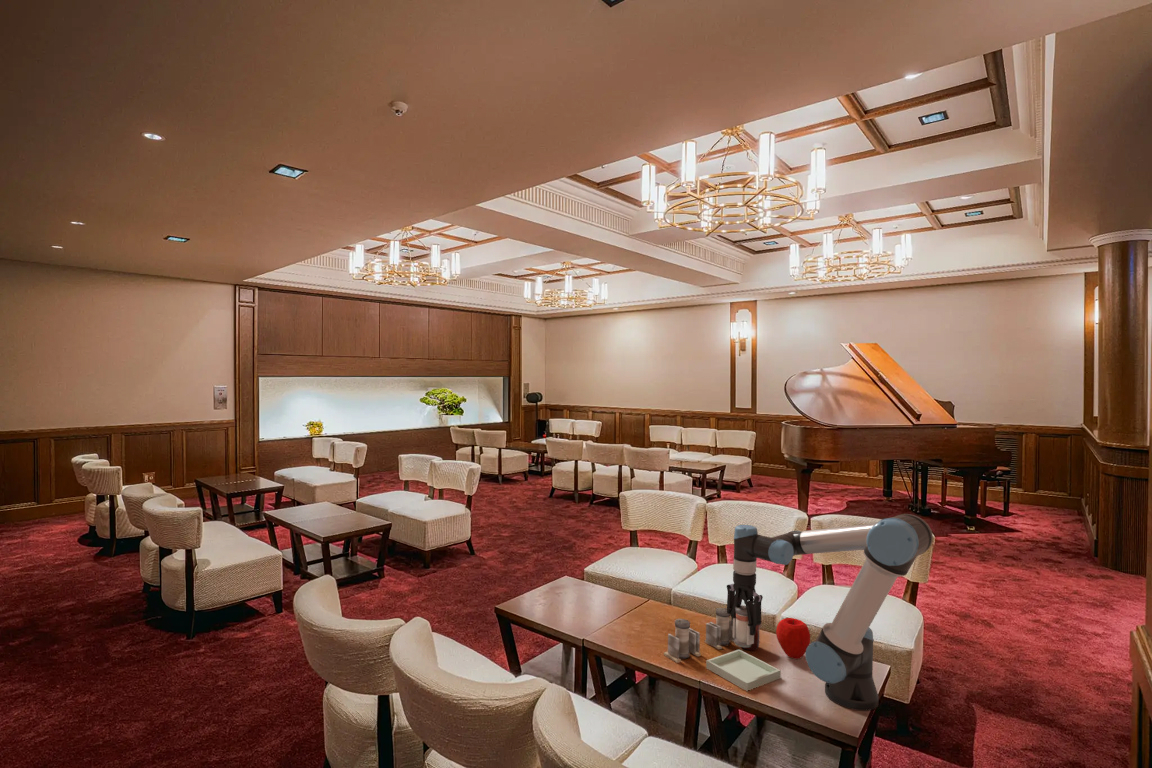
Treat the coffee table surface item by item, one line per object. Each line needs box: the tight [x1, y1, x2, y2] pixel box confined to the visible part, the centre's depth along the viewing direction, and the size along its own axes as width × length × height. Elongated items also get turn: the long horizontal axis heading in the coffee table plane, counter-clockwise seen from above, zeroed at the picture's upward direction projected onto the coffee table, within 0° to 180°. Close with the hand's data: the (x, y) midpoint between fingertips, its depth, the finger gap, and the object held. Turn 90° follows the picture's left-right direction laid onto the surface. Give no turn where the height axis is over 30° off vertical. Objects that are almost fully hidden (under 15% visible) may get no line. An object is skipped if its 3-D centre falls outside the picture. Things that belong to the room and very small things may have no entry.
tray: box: [705, 649, 782, 692], centre depth 191 cm, size 18×17×3 cm
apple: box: [775, 617, 811, 660], centre depth 204 cm, size 12×12×13 cm
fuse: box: [734, 604, 751, 648], centre depth 191 cm, size 5×5×12 cm
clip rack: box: [663, 607, 735, 664], centre depth 209 cm, size 7×32×12 cm, turn 123°
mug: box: [741, 620, 763, 652], centre depth 209 cm, size 12×9×10 cm
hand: (742, 640), depth 191 cm, fingers closed on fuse, 5 cm apart
